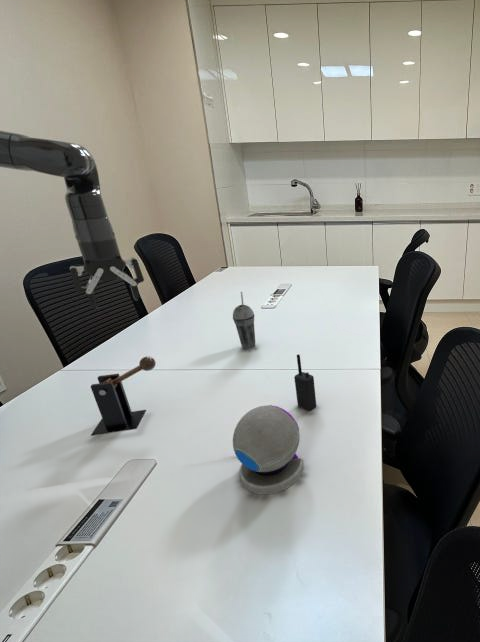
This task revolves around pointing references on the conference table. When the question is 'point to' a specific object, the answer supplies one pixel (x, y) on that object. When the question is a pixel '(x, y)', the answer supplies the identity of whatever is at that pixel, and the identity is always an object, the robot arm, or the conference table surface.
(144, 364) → the lever
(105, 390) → the bracket
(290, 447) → the webcam
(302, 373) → the walkie-talkie
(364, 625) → the conference table surface
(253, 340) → the beverage cup
